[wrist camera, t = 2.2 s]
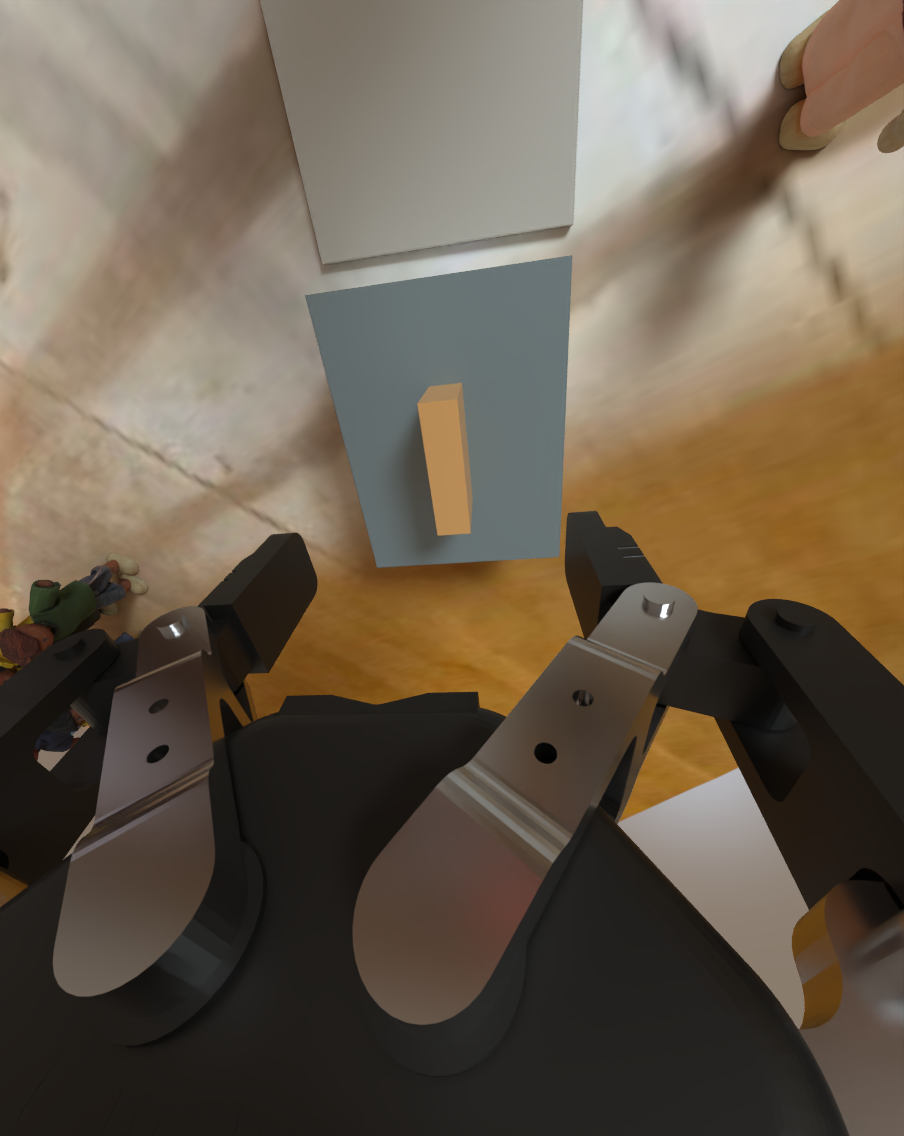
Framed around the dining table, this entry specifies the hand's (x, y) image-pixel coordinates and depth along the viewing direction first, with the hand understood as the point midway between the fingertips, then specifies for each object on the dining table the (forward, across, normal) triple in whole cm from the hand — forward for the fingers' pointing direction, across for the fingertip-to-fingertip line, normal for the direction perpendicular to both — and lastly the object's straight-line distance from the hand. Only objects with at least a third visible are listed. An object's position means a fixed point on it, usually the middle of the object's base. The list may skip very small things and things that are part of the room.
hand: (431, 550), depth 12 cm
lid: (+12, 0, 0) cm, 12 cm away
